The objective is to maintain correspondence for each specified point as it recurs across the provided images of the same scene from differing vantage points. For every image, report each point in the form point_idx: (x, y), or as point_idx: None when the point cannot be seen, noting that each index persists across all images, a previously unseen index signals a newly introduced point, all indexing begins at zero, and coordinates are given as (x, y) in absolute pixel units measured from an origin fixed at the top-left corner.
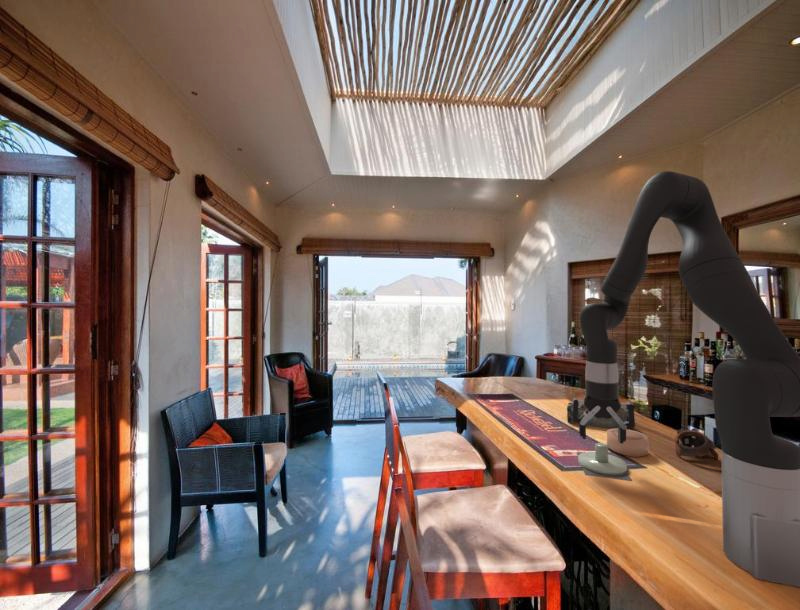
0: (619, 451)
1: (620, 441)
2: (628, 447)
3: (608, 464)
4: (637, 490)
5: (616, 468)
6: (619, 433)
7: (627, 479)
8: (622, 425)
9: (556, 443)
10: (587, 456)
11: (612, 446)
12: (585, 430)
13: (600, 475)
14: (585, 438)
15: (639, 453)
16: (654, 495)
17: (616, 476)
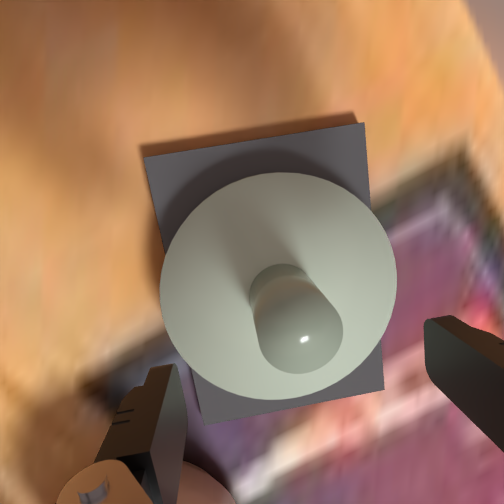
0: (189, 472)
1: (170, 368)
2: None
3: (251, 257)
4: (126, 83)
5: (213, 221)
6: (167, 434)
7: (165, 164)
8: (105, 501)
9: (458, 463)
10: (349, 315)
11: (220, 500)
12: (484, 351)
13: (291, 147)
14: (432, 319)
15: None
16: (50, 61)
17: (216, 176)
